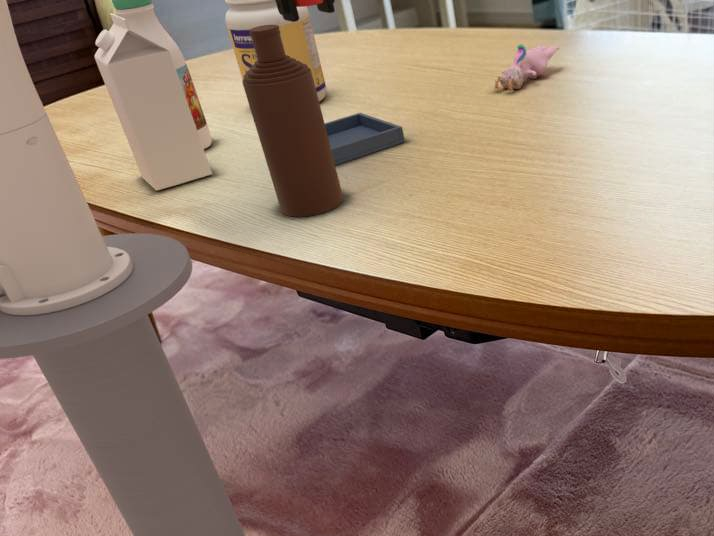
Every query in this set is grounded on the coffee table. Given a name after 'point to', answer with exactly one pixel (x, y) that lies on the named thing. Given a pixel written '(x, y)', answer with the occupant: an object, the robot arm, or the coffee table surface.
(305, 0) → the cap
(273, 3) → the supplement tub
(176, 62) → the milk bottle
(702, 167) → the coffee table surface
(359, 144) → the tray
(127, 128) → the milk carton
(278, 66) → the bottle
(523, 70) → the pink elongated figure
